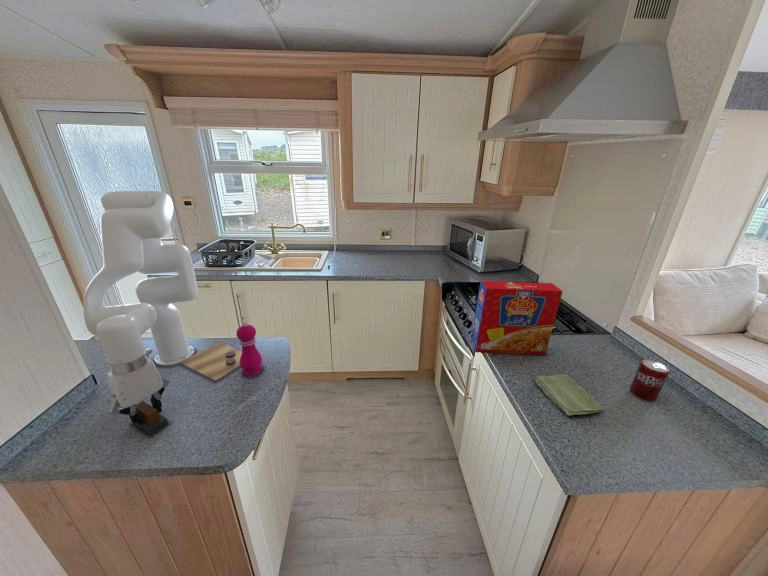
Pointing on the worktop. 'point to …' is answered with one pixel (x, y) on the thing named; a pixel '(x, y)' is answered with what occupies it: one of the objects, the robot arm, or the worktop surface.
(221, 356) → the cutting board
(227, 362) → the crumb
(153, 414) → the eraser
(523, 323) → the pasta box
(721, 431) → the worktop surface
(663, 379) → the soda can
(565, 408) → the washcloth
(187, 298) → the robot arm
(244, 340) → the pepper mill
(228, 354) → the crumb
